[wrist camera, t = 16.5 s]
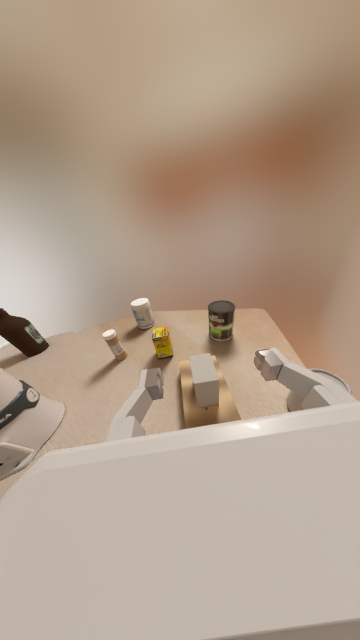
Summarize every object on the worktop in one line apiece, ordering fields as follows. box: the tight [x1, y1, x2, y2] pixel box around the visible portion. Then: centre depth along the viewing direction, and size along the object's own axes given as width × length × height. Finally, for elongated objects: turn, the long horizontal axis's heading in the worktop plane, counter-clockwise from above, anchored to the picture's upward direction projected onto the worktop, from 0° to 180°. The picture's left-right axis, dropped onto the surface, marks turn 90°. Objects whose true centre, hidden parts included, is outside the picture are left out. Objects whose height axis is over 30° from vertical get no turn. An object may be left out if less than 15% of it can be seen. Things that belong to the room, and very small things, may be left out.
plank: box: [179, 355, 241, 429], centre depth 35 cm, size 22×12×5 cm, turn 5°
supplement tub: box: [131, 298, 155, 329], centre depth 72 cm, size 10×10×15 cm
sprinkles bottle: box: [102, 330, 127, 361], centre depth 53 cm, size 5×5×14 cm
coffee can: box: [208, 301, 235, 341], centre depth 55 cm, size 10×10×14 cm
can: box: [286, 369, 352, 412], centre depth 28 cm, size 8×8×12 cm
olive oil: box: [0, 308, 49, 357], centre depth 64 cm, size 11×11×25 cm
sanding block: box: [189, 353, 219, 408], centre depth 31 cm, size 7×5×10 cm
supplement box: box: [152, 327, 173, 359], centre depth 52 cm, size 6×6×11 cm
